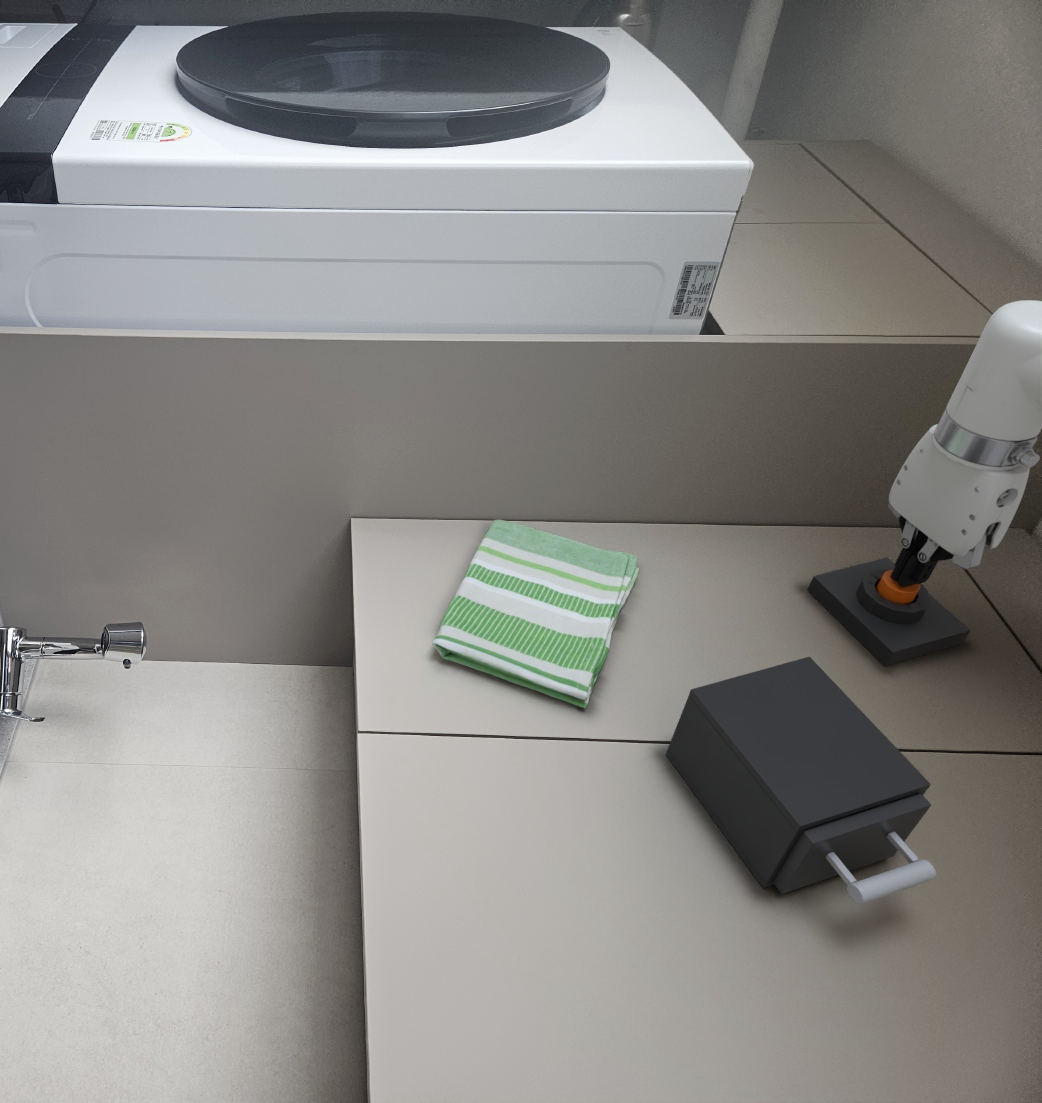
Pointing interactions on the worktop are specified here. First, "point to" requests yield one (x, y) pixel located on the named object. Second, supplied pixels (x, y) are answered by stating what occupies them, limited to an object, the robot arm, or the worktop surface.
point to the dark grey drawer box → (784, 759)
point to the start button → (896, 590)
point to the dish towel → (537, 610)
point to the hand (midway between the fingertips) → (907, 579)
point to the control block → (886, 614)
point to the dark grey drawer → (860, 851)
